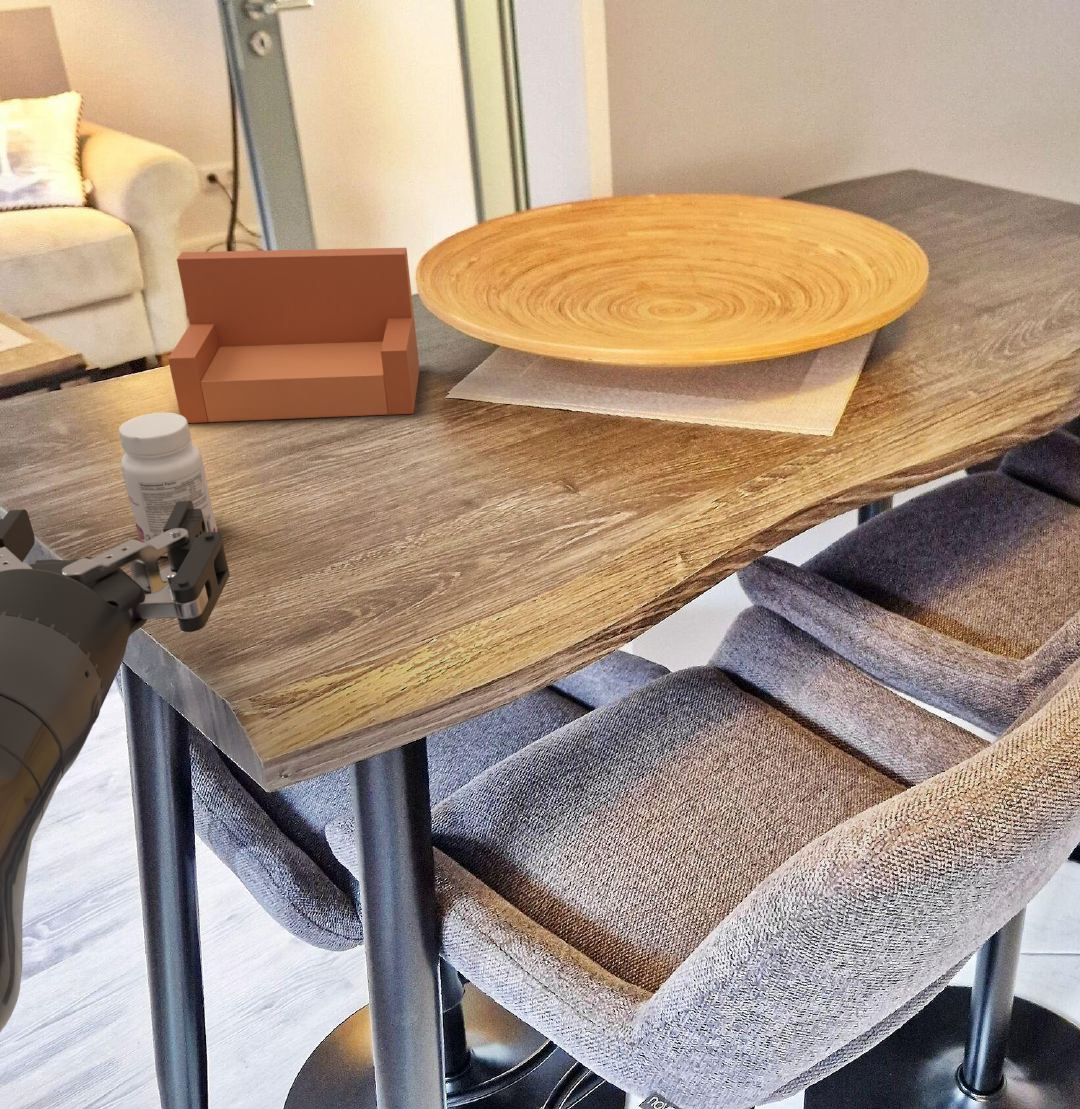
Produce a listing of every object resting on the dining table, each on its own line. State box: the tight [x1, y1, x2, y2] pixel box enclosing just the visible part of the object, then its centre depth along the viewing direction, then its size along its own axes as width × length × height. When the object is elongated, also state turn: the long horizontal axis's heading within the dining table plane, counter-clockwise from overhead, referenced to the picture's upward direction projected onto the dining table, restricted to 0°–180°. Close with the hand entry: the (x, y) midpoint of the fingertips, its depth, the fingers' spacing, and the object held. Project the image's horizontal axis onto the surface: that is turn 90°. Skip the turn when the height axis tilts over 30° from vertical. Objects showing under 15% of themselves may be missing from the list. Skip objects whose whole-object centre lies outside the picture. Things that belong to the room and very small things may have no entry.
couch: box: [167, 247, 421, 424], centre depth 101 cm, size 18×10×11 cm, turn 100°
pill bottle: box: [118, 412, 218, 557], centre depth 79 cm, size 5×5×8 cm
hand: (106, 519), depth 68 cm, fingers open, 8 cm apart
